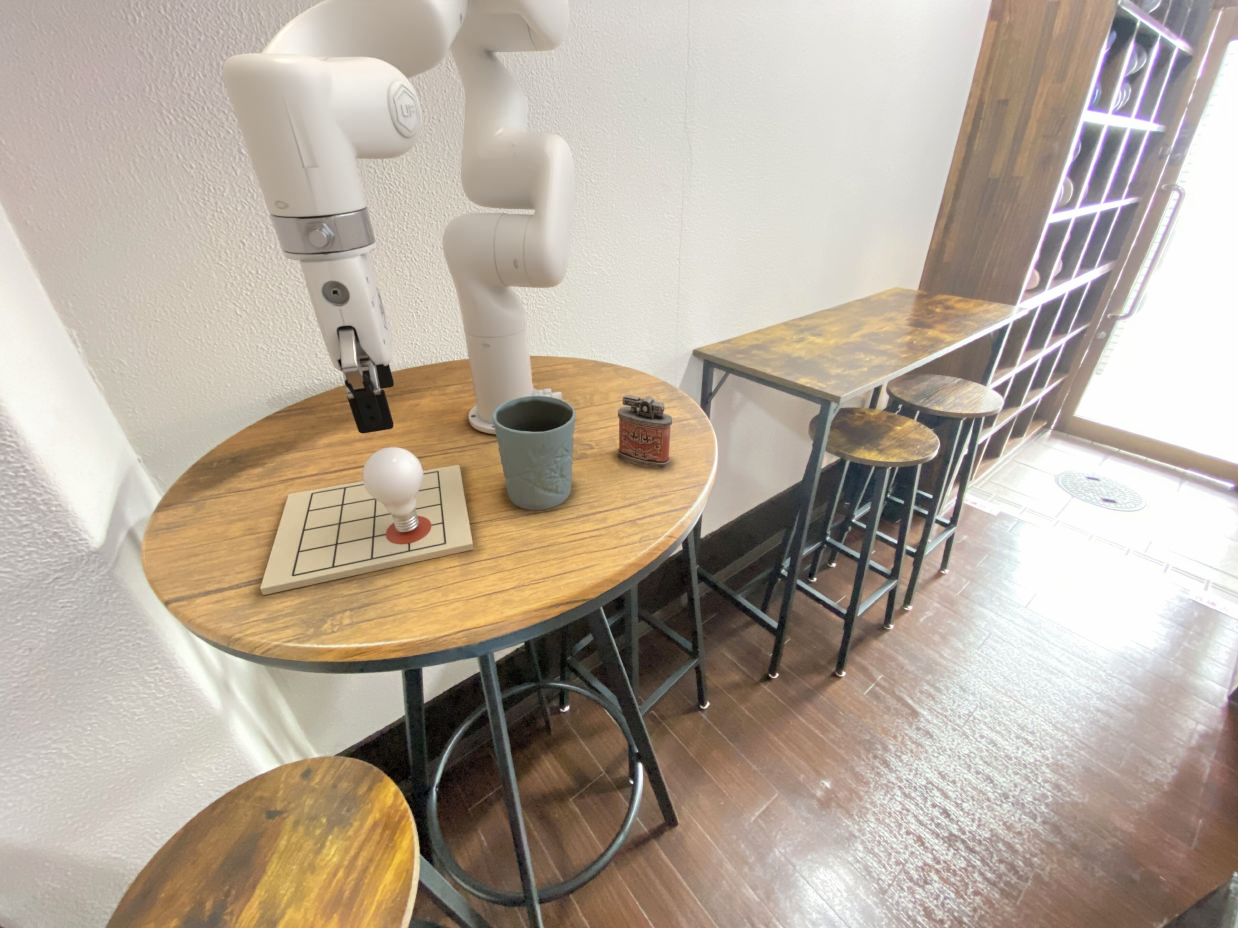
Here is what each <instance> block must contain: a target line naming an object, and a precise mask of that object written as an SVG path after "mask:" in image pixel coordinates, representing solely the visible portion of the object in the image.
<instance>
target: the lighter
mask: <svg viewBox="0 0 1238 928" xmlns="http://www.w3.org/2000/svg"><path fill="white" fill-rule="evenodd" d="M622 405H623V407H620V408H619V409H617V417H618V449H617V457H618V458H619V459H621V460H623V461H625V462H628V463H630V464H634V465H638V466H642V467H646V468H653V469H666V468H668V467H669V466H670V462H671V459H670V443H671V442H670V441H671V426H672V424H673V417H672V416H671V415H669V414H666V413H664V412H665V402H660V401H656V400H655V399H654V397H652V396H649V395H648V396H646V397H645V398H642V397H640V396H638V395H637V396H636V395H631V394H624V395H623V396H622Z"/></svg>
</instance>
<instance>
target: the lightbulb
mask: <svg viewBox="0 0 1238 928" xmlns="http://www.w3.org/2000/svg"><path fill="white" fill-rule="evenodd" d="M423 471H424V468H423V465H422V463H421V461H420V460H419V458H418V457H417V456H416V455H415V454H414V453H412V452H411V451H410V450H408V449H405V448H403V447H400V446H399V447H398V446H387V447H383V448H381V449H378V450H377V451H375V452H373V453H372V454H370V456H369V457H368V458H367V459H366V461H365V462H364V464H363V466H362V472H361V481H363V484H364V487H365V489H366V490H367V492H368V493H369V494H370V495H371V496H372V497H373V498H375V499H376V500H378V501H379V502H381V503H383V504H384V505H385V507H386V509H387V510H388V511H389V512H390V513H391V515H392V518H393V521H394V524H395V528H396V530H397V531H399V532H409V531H412V530H414V529H415V528H416V527H417V526H418V525H419V520H418V517H417V513H416V509H415V506H416V496H417V493H418V492H419V490H420V488H421V485H422V482H423Z"/></svg>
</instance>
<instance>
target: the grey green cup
mask: <svg viewBox="0 0 1238 928" xmlns="http://www.w3.org/2000/svg"><path fill="white" fill-rule="evenodd" d="M492 418H493V423H494V428H495V433H496V434H495V436H496V441H497V446H498V453H499V457H500V464H501V467H502V468H501V469H502V472H503V478H505V488H506V493H507V497H508V499H509V500H510V502H511V503H512V504H513V505H514V506H516V507H518V508H520V509H524V510H528V511H542V510H543V511H544V510H548V509H552V508H555V507H557V506H559V505H561V504H562V503H564V502H565V501H566V500H567V499H568V498H569V496H570V494H571V491H572V476H573V470H572V469H573V458H574V457H573V455H574V454H573V453H574V441H575V439H574V433H575V424H576V410H575V409H574V407H573V406H572V405H571V404H570V402H567V401H566V400H564V399H563V400H560V399H557V398H553V397H547V396H526V397H520V398H516V399H513V400H510V401H507V402H505V403H503V404H501V405H500V406H499V407H497V408H496V409H495V411H494V412H493V415H492Z"/></svg>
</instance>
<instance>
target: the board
mask: <svg viewBox="0 0 1238 928" xmlns="http://www.w3.org/2000/svg"><path fill="white" fill-rule="evenodd" d="M461 471H462V470H461V466H460V464H454V465H447V466H443V467H437V468H436V467H435V468H430V469H425V470H424V469H423V482H422V485H421V488H420V490H419V492H418V493H417V496H416V506H415V509H416V513H417V517H418V520H419V525H418V526H417V527H416V528H415V529H414V530H412V531H409V532H399V531H397V530H396V528H395V524H394V521H393V518H392V515H391V513H390V512H389V511H388V510H387V509H386V507H385V505H384V504H383V503H381V502H379V501H378V500H376V499H375V498H373V497H372V496H371V495H370V494H369V493H368V492H367V490H366V489H365V487H364V484H363V481H362V480H361V481H355V482H350V483H344V484H337V485H333V486H326V487H320V488H314V489H310V490H303V491H298V492H292V493H288V495H287V498H286V502H285V503H284V507H283V511H282V515H281V518H280V521H279V524H278V528H277V531H276V535H275V538H274V541H273V545H272V548H271V551H270V554H269V558H268V561H267V564H266V568H265V571H264V574H263V577H262V581H261V584H260V587H259V589H260V592H261V594H262V595H263V596H266V595H267V596H268V595H271V594H275V593H279V592H280V593H281V592H285V591H290V590H294V589H298V588H304V587H308V586H312V585H316V584H321V583H325V582H331V581H336V580H339V579H345V578H349V577H353V576H358V575H363V574H367V573H372V572H377V571H382V570H386V569H391V568H396V567H399V566H405V565H409V564H414V563H417V562H423V561H427V560H433V559H437V558H441V557H446V556H451V555H455V554H459V553H465V552H470V551H473V550H474V542H473V541H474V540H473V536H472V531H471V524H470V518H469V513H468V507H467V500H466V495H465V489H464V484H463V478H462V472H461Z"/></svg>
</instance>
